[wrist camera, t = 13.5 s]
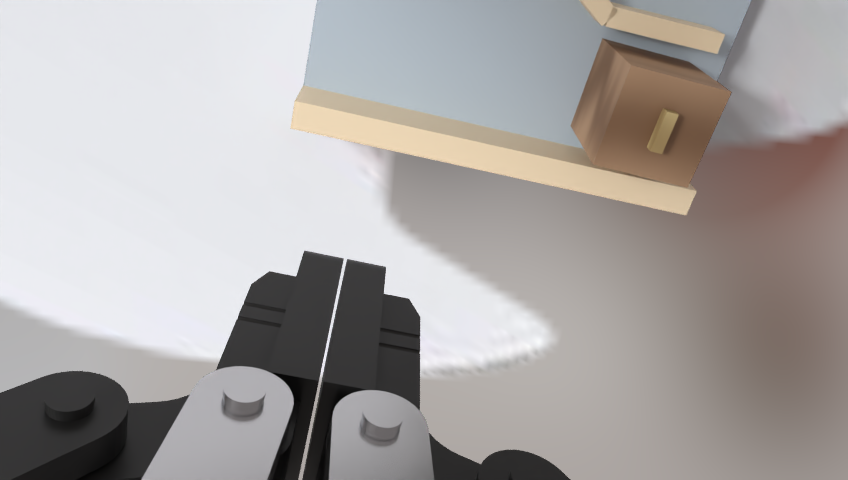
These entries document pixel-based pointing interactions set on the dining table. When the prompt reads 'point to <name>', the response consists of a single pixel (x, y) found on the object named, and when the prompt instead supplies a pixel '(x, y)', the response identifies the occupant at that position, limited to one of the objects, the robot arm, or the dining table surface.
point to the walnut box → (647, 113)
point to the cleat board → (495, 80)
